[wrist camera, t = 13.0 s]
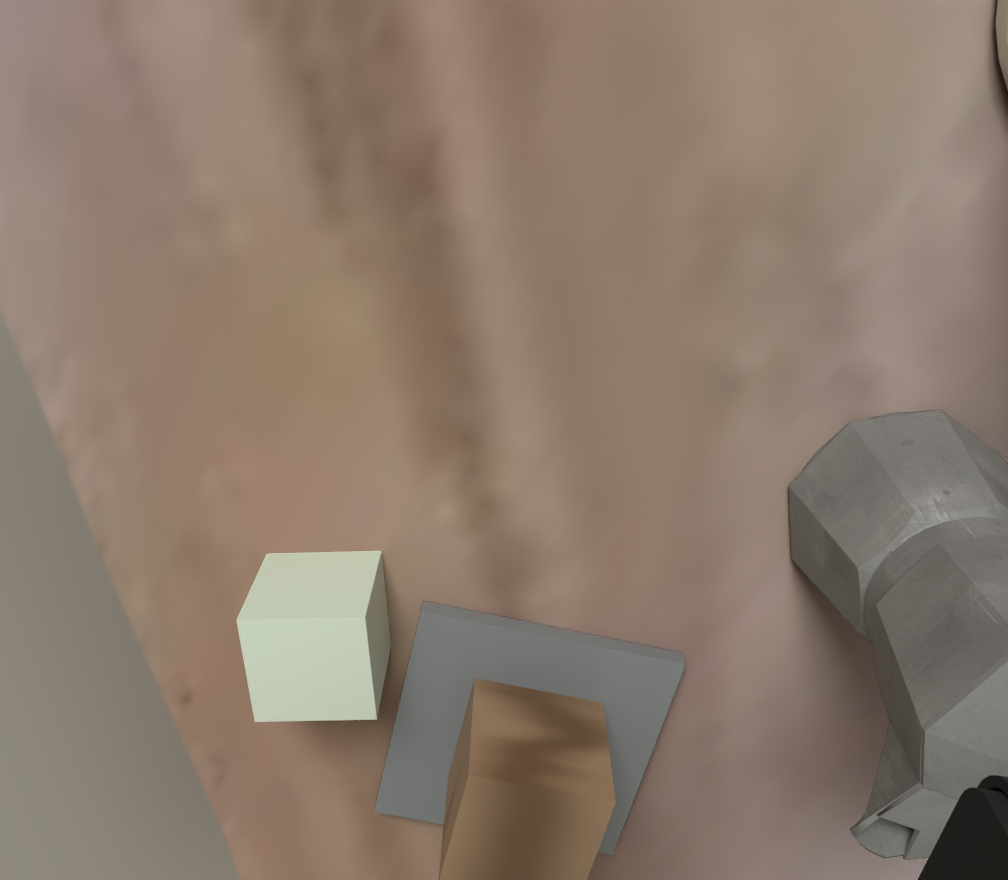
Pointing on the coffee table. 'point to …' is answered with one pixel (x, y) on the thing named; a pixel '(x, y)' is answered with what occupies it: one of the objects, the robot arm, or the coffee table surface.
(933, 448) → the coffeepot
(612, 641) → the slate coaster
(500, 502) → the coffee table surface
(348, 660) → the pale green block
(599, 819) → the walnut cube
